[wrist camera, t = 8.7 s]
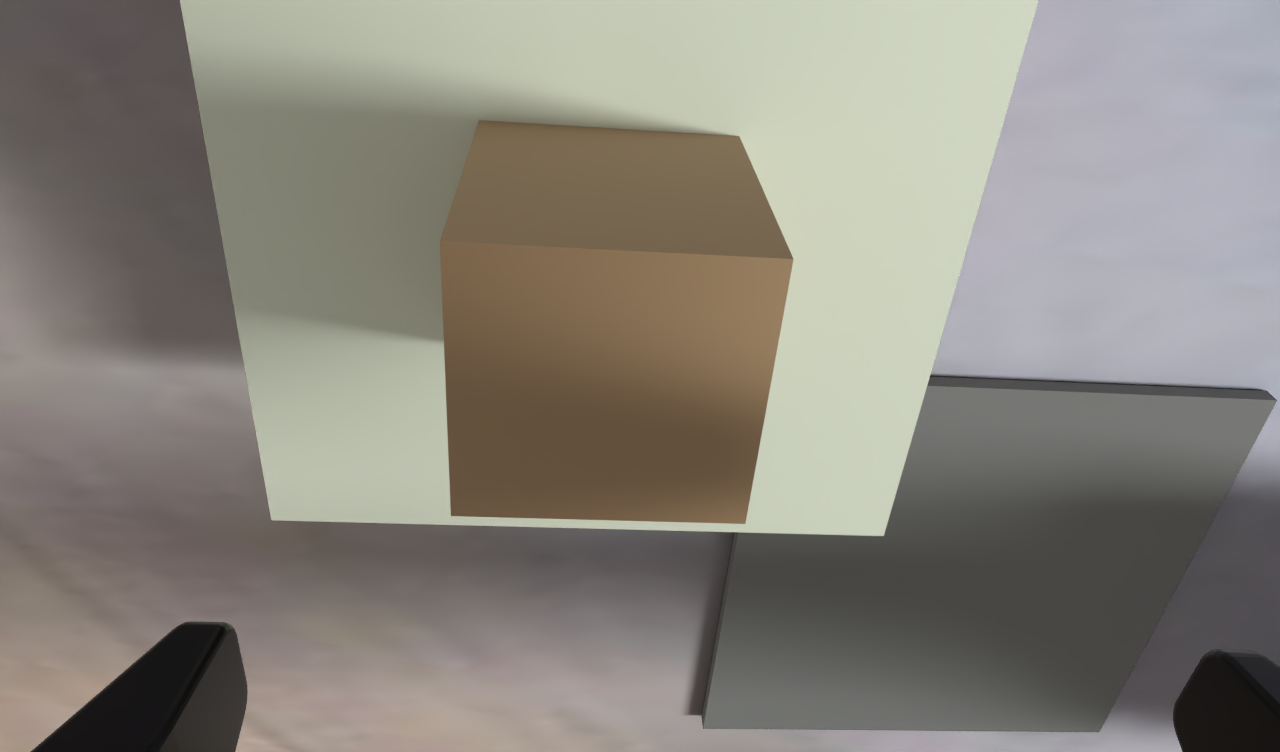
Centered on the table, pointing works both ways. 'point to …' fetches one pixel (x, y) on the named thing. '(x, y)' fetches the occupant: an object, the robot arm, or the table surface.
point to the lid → (596, 249)
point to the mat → (987, 565)
